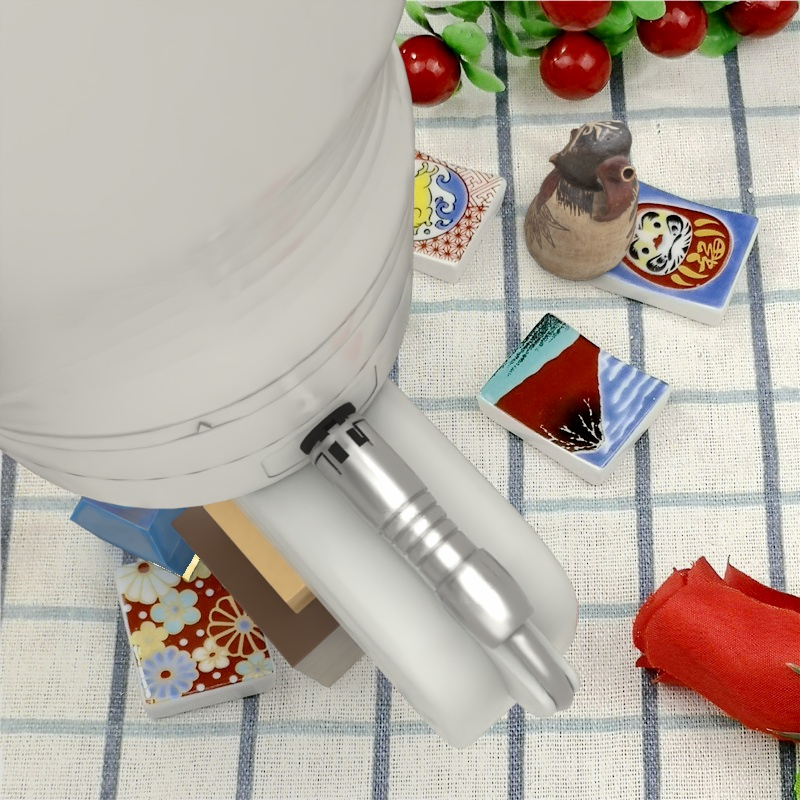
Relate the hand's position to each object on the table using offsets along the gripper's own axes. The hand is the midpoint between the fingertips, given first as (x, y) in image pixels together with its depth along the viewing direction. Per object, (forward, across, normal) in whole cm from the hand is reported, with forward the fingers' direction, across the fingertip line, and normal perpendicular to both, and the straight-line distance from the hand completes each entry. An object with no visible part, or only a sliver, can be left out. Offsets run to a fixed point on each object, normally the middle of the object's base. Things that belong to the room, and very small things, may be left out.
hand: (265, 451), depth 31 cm
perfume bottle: (+32, +10, +5) cm, 34 cm away
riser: (+32, 0, 0) cm, 32 cm away
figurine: (+32, +7, -28) cm, 43 cm away
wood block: (+12, 0, 0) cm, 12 cm away
